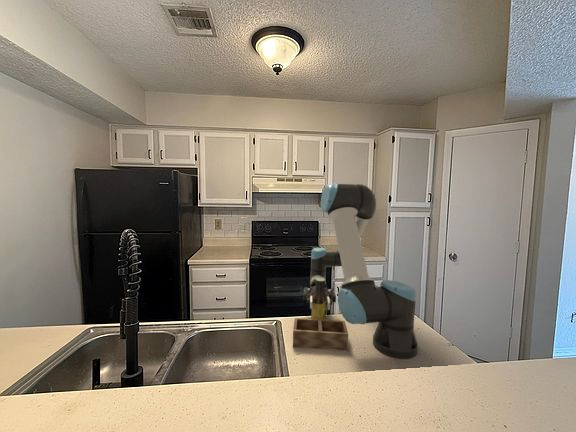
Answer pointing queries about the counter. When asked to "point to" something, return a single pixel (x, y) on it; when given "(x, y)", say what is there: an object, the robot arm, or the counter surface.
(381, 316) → the robot arm
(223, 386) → the counter surface
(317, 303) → the sauce bottle
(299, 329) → the wooden divided box
